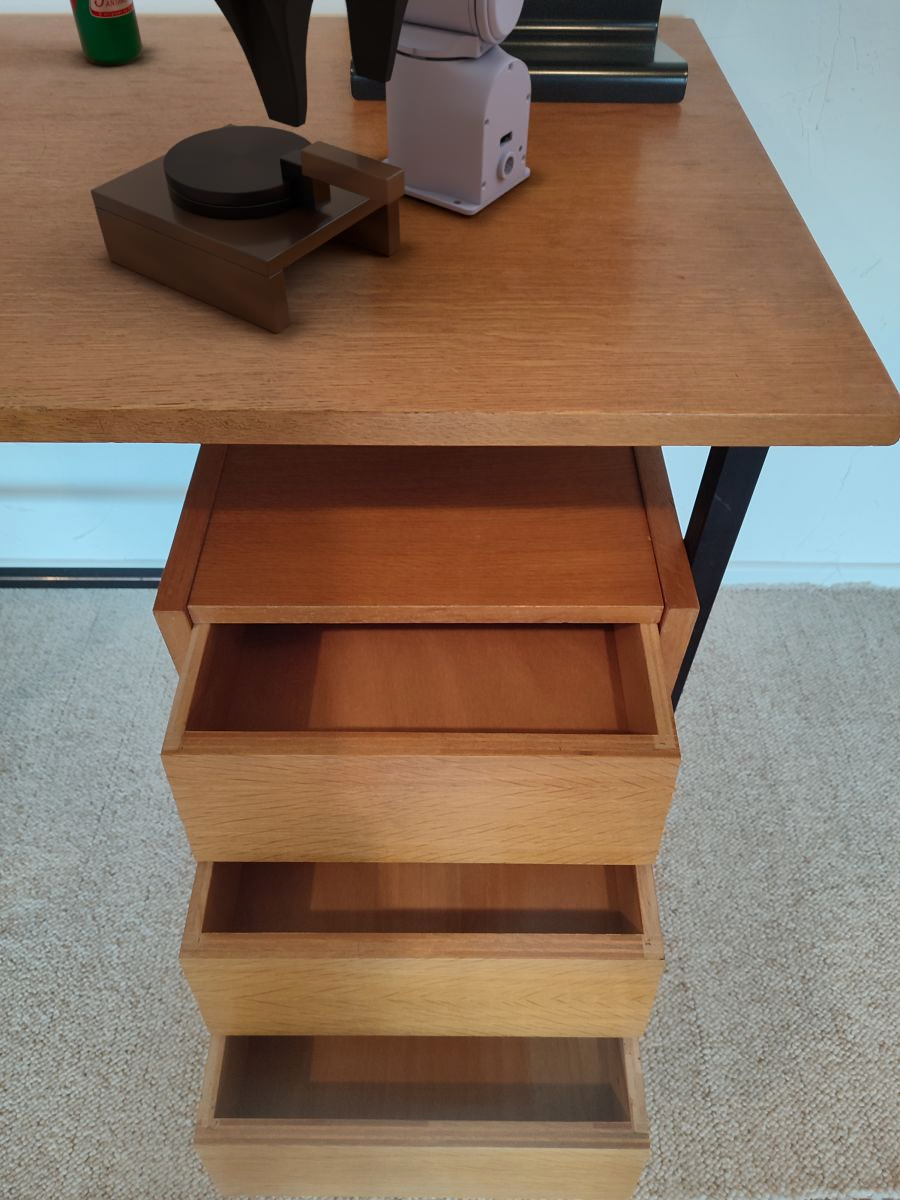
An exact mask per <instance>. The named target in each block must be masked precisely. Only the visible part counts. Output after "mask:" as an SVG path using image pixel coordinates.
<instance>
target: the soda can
mask: <svg viewBox="0 0 900 1200" xmlns="http://www.w3.org/2000/svg"><path fill="white" fill-rule="evenodd" d="M69 5H70V8H71V11H72V15H73V19H74V23H75V27H76V31H77V35H78V39H79V42H80V47H81V51H82V53H83V55H84V56H85V57H86V58H87V59H88V60H89V61H90V62H92V63H93V64H97V65H101V66H111V67H112V66H121V65H125V64H126V65H127V64H130V63H131V62H134V61H135V60H137V59H138V58H139V57H140V55H141V54H142V51H143V47H144V45H143V41H142V35H141V32H140V27H139V22H138V18H137V14H136V8H135V3H134V0H69Z"/></svg>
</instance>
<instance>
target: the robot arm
mask: <svg viewBox="0 0 900 1200" xmlns="http://www.w3.org/2000/svg"><path fill="white" fill-rule="evenodd" d="M213 1H214V2H215V4H216V5H217V7H218V8H219V10H220V12H221V13H222V15H223V16H224V18H225V20H226V21H227V23H228V25H229V26H230V28H231V30H232V32H233V34H234V35H235V37H236V39H237V42H238V43H239V45H240V47H241V49H242V51H243V54H244V56H245V58H246V61H247V63H248V65H249V68H250V70H251V73H252V75H253V78H254V81H255V83H256V86H257V89H258V92H259V94H260V98H261V100H262V103H263V106H264V108H265V111H266V115H267V117H268V119H269V120H271V121H274V122H277V123H280V124H283V125H287V126H289V127H292V128H300V127H302V126H304V125H305V124H306V122H307V113H308V78H307V76H308V75H307V46H308V45H307V44H308V34H309V26H310V21H311V20H310V19H311V15H312V8H313V4H314V0H213ZM524 1H525V0H344V3H345V8H346V14H347V24H348V33H349V34H348V35H349V46H350V53H351V58H352V63H353V67H354V71H355V75H356V76H357V77H361V78H364V79H368V80H371V81H374V82H378V83H382V84H385V102H386V103H385V104H386V129H387V130H386V134H387V135H386V136H387V158H384V159H383V160H382V161H381V160H380V161H381V162H384V163H387V164H390V165H393V166H396V167H399V168H402V169H404V180H405V194H404V195H407V196H409V197H412V198H416V199H417V200H418V199H419V200H421V201H425V202H427V203H431V204H433V205H436V206H439V207H441V208H445V209H448V210H451V211H454V212H456V213H458V214H463V215H465V216H474V215H475V214H477V213H478V212H480V211H482V210H483V209H484V208H486V207H487V206H489V205H490V204H491V203H493V202H494V201H496V200H498V199H499V198H500V197H502V195H504V194H506V193H507V192H509V191H511V189H513V188H514V187H515V186H517V185H518V184H520V183H521V182H523V181H524V180H526V179H527V178H528V177H530V176H531V169H530V168H529V167H527V166H526V165H527V163H526V162H527V151H528V138H529V137H528V136H529V124H530V112H531V99H532V81H531V75H530V71H529V69H528V66H527V64H526V63H525V62H524V61H522V60H521V59H520V58H517V57H515V56H513V55H511V54H509V53H508V52H506V51H505V50H504V49H502V48H501V46H500V44H501V43H503V42H504V41H505V40H506V39H507V37H508V36H509V34H511V33H512V31H513V30H514V28H515V27H516V25H517V23H518V21H519V18H520V16H521V12H522V9H523V7H524V6H523V5H524Z"/></svg>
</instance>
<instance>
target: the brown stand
mask: <svg viewBox="0 0 900 1200" xmlns="http://www.w3.org/2000/svg"><path fill="white" fill-rule="evenodd" d="M234 126H237V125H236V124H233V123H229V124H226V125H224V126H222V127H221V128H225V127H234ZM165 155H166V153H165V154H163V155H161V156H159V157H157V158H155V159H153V160H150V161H148V162H146V163H144V164H142V165H140V166H138V167H136V168H134V169H131V170H130V171H128V172H126V173H123V174H121V175H120V176H117V177H115V178H113V179H111V180H108V181H107V182H104V183H102V184H101V185H98V186H96V187H94V188H91V189H90V195H91V198H92V201H93V205H94V210H95V214H96V216H97V220H98V224H99V227H100V231H101V235H102V238H103V242H104V246H105V249H106V252H107V256H108V260H109V261H111V262H113V263H115V264H117V265H120V266H122V267H124V268H126V269H129V270H131V271H134V272H136V273H137V274H140V275H142V276H145V277H147V278H148V279H151V280H154V281H156V282H158V283H161V284H164V285H165V286H168V287H170V288H172V289H174V290H177V291H179V292H180V293H183V294H185V295H187V296H190V297H193V298H195V299H197V300H199V301H202V302H204V303H206V304H209V305H210V306H213V307H215V308H218V309H219V310H222V311H224V312H227V313H229V314H231V315H232V316H236V317H238V318H240V319H242V320H245V321H247V322H250V323H252V324H254V325H256V326H259V327H261V328H263V329H265V330H267V331H270V332H271V333H275V334H279V333H280V332H281V331H283V330H284V329H286V328H287V327H289V326H290V325H291V322H290V321H291V319H290V313H289V305H288V299H287V298H288V297H287V289H286V281H285V274H284V269H285V268H286V267H288V266H290V265H291V264H293V263H294V262H296V261H298V260H300V258H302V257H303V256H305V255H307V254H309V253H310V252H312V251H313V250H315V249H317V248H318V247H319V246H321V245H323V244H324V243H326V242H328V241H329V240H330V239H332V238H334V237H337V238H339V239H342V240H344V241H348V242H350V243H353V244H355V245H358V246H360V247H362V248H365V249H368V250H370V251H371V250H372V251H374V252H377V253H379V254H382V255H384V256H387V257H391V256H392V255H394V254H396V253H397V252H399V251H400V250H401V225H400V224H401V223H400V221H401V220H400V197H399V198H398V199H396V200H395V201H393V202H391V203H390V204H388V205H386V204H384V203H381V202H378V201H375V200H372V199H369V198H367V197H364V196H361V195H358V194H355V193H353V192H350V191H347V190H344V189H341V188H338V187H336V186H333V185H330V194H331V202H330V203H328V204H327V205H325V206H323V207H322V208H320V209H318V210H317V211H315V210H312V209H309V208H307V207H304V206H301V205H300V206H298V207H296V208H294V209H291V210H289V211H286V212H283V213H280V214H276V215H272V216H268V217H262V218H254V219H239V220H236V219H218V218H212V217H206V216H202V215H198V214H195V213H192V212H190V211H188V210H186V209H184V208H182V207H181V206H179V205H178V204H177V203H176V202H174V200H173V199H172V198H171V196H170V194H169V190H168V186H167V180H166V176H165V172H164V167H163V161H164V157H165Z"/></svg>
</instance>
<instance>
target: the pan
mask: <svg viewBox="0 0 900 1200" xmlns="http://www.w3.org/2000/svg"><path fill="white" fill-rule="evenodd" d="M165 154H166V155H165ZM165 154H164V155H165V157H164V161H163V167H164V172H165V176H166V180H167V186H168V190H169V194H170V196H171V198H172V199H173V200H174V202H176V203H177V204H178V205H179V206H181V207H182V208H184V209H186V210H188V211H190V212H192V213H195V214H198V215H202V216H206V217H212V218H218V219H236V220H239V219H254V218H262V217H268V216H272V215H276V214H280V213H283V212H286V211H289V210H291V209H294V208H296V207H298V206H300V205H301V206H304V207H307V208H309V209H312V210H315V211H317V210H318V209H320V208H322V207H323V206H325V205H327V204H328V203H330V202H331V194H330V185H333V186H336V187H338V188H341V189H344V190H347V191H350V192H353V193H355V194H358V195H361V196H364V197H367V198H369V199H372V200H375V201H378V202H381V203H384V204H386V205H388V204H390V203H391V202H393V201H395V200H396V199H398V198H399V199H400V198H401V197H403V196H404V195H406V194H405V180H404V169H402V168H399V167H396V166H393V165H390V164H387V163H384V162H381V160H378V159H375V158H371V157H369V156H366V155H363V154H360V153H357V152H354V151H351V150H348V149H345V148H342V147H339V146H335V145H333V144H329V143H327V142H324V141H321V140H316V141H315V142H313V143H312V142H311V141H309V140H308V139H307V138H305V137H304V136H302V135H300V134H298V133H295V132H294V131H293V132H292V131H290V130H285V129H282V128H281V129H280V128H278V127H272V126H271V127H270V126H262V125H236V126H234V127H225V128H222V127H219V128H214V129H213V128H212V129H209V130H205V131H202V132H201V131H200V132H199V133H195V134H192V135H191V136H188V137H185V138H184V139H182V140H179V141H178V142H177V143H175V144H174V145H173V146H171V147H170V148H169V149H168V151H167V152H166V153H165Z"/></svg>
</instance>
